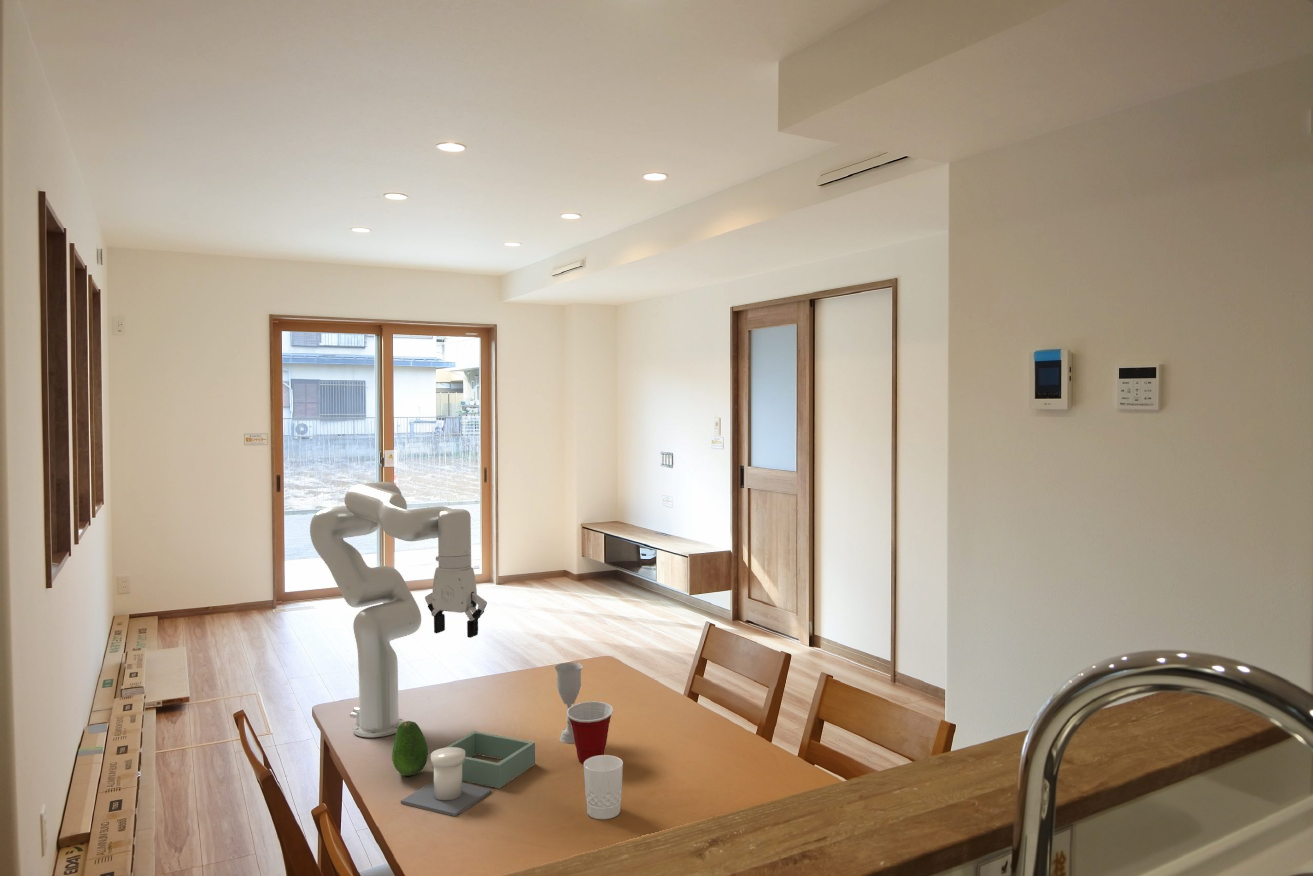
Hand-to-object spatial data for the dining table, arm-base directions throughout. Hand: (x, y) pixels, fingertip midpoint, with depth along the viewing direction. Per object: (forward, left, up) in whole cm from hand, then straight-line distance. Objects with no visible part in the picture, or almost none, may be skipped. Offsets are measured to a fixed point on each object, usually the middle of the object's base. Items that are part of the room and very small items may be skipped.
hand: (455, 634), depth 200 cm
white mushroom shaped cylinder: (+13, -20, -28) cm, 37 cm away
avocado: (-2, -14, -28) cm, 32 cm away
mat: (+13, -20, -28) cm, 37 cm away
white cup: (+46, -12, -28) cm, 55 cm away
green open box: (+12, -5, -28) cm, 31 cm away
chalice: (+20, +18, -28) cm, 39 cm away
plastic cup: (+31, +9, -28) cm, 43 cm away
